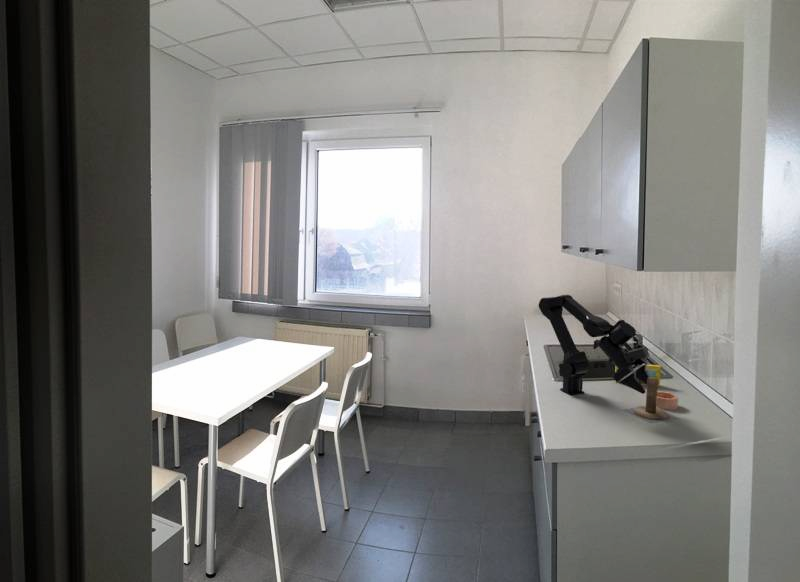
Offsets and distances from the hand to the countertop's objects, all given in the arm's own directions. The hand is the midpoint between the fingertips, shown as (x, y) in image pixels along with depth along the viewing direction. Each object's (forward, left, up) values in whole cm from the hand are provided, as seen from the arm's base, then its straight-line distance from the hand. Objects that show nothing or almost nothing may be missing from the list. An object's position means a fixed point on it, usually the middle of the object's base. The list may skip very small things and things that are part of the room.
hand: (648, 389), depth 152 cm
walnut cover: (+1, -1, -8) cm, 8 cm away
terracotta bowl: (+12, +4, -9) cm, 15 cm away
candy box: (+23, +27, -9) cm, 36 cm away
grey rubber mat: (+1, -1, -9) cm, 9 cm away
